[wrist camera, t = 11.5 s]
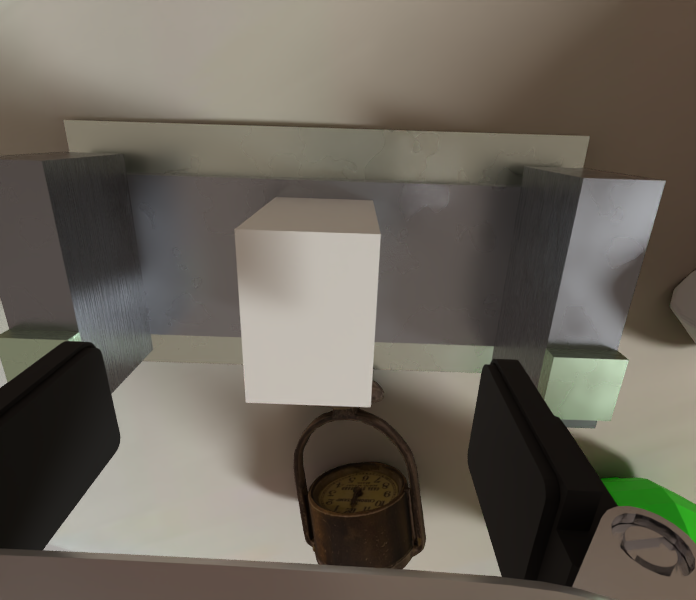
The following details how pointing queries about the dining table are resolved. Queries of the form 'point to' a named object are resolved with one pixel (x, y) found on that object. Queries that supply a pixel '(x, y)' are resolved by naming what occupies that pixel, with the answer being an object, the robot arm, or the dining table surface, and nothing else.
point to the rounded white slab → (686, 304)
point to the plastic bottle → (654, 501)
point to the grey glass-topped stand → (329, 183)
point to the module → (309, 301)
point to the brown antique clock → (361, 502)
